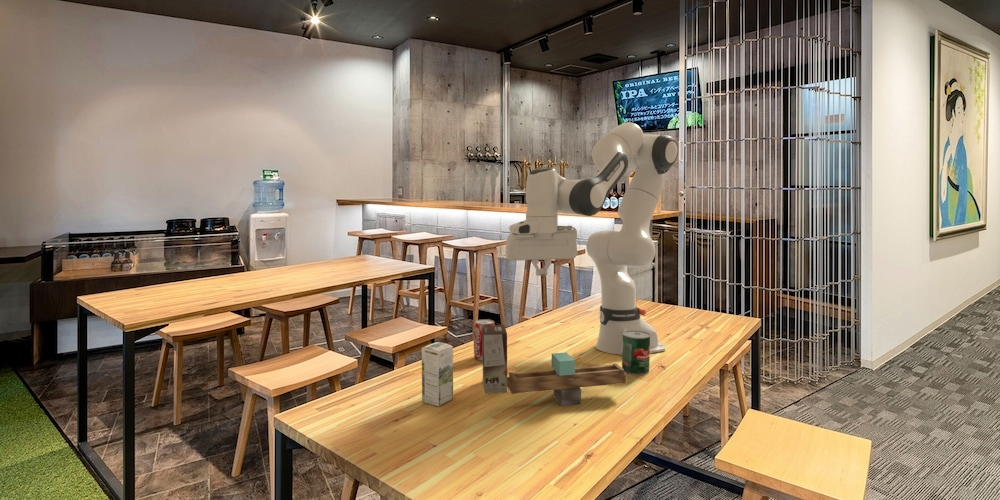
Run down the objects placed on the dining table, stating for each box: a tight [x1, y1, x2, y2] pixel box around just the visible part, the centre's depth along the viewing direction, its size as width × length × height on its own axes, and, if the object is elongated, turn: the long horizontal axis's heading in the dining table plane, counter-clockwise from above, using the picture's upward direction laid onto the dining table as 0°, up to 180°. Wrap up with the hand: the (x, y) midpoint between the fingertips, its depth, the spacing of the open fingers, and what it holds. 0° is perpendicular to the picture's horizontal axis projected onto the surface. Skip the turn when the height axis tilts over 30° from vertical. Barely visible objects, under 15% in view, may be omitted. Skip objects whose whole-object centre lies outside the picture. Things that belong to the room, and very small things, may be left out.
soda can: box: [473, 318, 496, 362], centre depth 169 cm, size 7×7×12 cm
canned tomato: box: [621, 330, 651, 376], centre depth 157 cm, size 8×8×11 cm
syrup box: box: [421, 341, 454, 407], centre depth 136 cm, size 6×6×14 cm
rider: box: [551, 351, 576, 376], centre depth 135 cm, size 4×6×5 cm, turn 12°
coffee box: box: [482, 324, 508, 394], centre depth 145 cm, size 9×6×16 cm
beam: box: [507, 363, 627, 407], centre depth 136 cm, size 30×7×8 cm, turn 102°
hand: (541, 275), depth 151 cm, fingers closed
